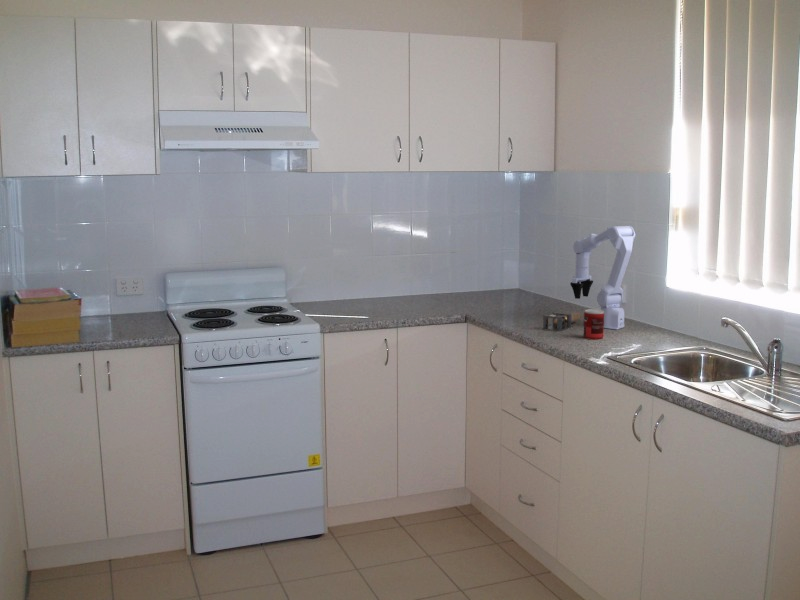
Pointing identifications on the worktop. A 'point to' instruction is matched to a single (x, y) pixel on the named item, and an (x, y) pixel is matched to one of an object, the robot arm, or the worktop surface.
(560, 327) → the firebox
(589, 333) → the canned food
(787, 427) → the worktop surface
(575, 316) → the tube
